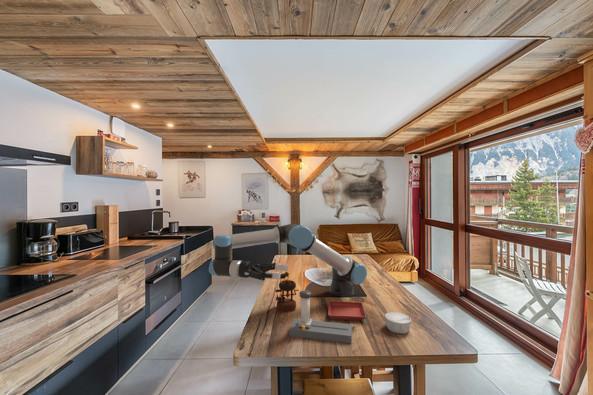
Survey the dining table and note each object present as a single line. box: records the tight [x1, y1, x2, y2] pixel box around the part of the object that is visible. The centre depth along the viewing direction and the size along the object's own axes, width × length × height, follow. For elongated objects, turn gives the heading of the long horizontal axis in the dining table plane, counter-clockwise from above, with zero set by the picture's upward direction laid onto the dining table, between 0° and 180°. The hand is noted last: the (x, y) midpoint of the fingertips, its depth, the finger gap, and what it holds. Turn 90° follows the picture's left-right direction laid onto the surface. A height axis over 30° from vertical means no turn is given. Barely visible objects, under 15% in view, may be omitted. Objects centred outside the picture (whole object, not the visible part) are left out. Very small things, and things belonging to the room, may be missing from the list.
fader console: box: [289, 318, 353, 344], centre depth 111 cm, size 26×10×4 cm, turn 77°
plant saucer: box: [327, 300, 367, 322], centre depth 132 cm, size 18×18×3 cm
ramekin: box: [384, 311, 412, 335], centre depth 116 cm, size 11×11×5 cm
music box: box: [275, 271, 300, 313], centre depth 140 cm, size 15×11×20 cm
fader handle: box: [298, 290, 313, 328], centre depth 113 cm, size 5×6×14 cm
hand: (284, 271), depth 116 cm, fingers open, 13 cm apart
